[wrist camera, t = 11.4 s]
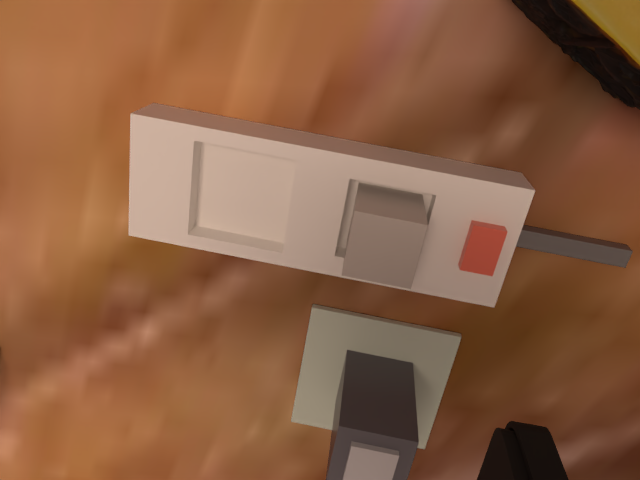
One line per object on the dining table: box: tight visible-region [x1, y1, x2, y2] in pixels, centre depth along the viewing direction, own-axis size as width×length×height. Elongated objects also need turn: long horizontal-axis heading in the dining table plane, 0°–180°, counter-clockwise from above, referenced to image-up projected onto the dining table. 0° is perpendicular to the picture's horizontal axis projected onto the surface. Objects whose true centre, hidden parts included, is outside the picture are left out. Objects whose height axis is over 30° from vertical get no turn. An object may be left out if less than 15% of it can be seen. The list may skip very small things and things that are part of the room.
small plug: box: [342, 182, 428, 289], centre depth 32 cm, size 4×4×5 cm
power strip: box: [129, 103, 633, 308], centre depth 35 cm, size 32×8×4 cm, turn 80°
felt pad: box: [291, 304, 461, 449], centre depth 42 cm, size 11×11×1 cm
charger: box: [326, 350, 419, 480], centre depth 38 cm, size 5×5×8 cm
